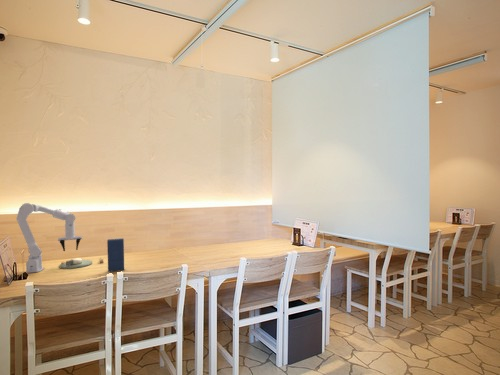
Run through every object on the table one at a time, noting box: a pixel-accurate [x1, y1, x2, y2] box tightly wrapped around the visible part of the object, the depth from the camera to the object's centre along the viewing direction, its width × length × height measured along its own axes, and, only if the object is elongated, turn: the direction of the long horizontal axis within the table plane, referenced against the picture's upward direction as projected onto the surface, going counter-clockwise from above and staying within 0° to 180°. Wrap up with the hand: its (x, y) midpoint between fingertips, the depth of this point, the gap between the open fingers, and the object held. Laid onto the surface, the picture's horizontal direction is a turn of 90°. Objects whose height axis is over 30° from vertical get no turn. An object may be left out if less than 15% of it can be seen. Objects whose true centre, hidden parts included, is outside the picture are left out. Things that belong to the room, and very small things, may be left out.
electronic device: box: [106, 237, 125, 273], centre depth 204 cm, size 10×5×20 cm, turn 109°
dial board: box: [58, 259, 93, 270], centre depth 220 cm, size 20×20×2 cm
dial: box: [65, 257, 83, 265], centre depth 218 cm, size 11×7×3 cm, turn 162°
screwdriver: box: [99, 257, 104, 264], centre depth 228 cm, size 12×2×2 cm, turn 28°
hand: (70, 250), depth 220 cm, fingers open, 7 cm apart
